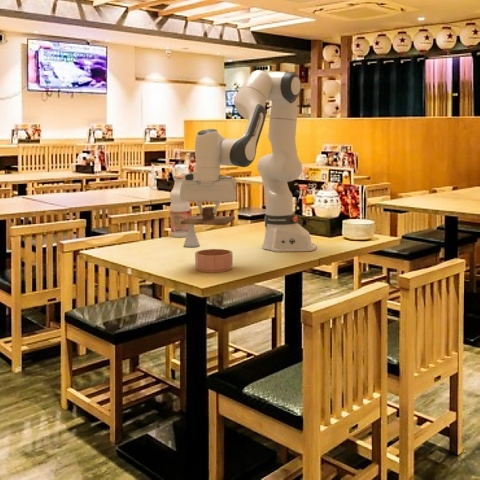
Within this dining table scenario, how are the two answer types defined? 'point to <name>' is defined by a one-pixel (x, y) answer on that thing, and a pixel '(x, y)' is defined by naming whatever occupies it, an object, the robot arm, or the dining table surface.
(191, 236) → the flask
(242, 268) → the dining table surface
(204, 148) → the robot arm
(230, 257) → the bowl
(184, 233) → the fruit juice
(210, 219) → the lid
